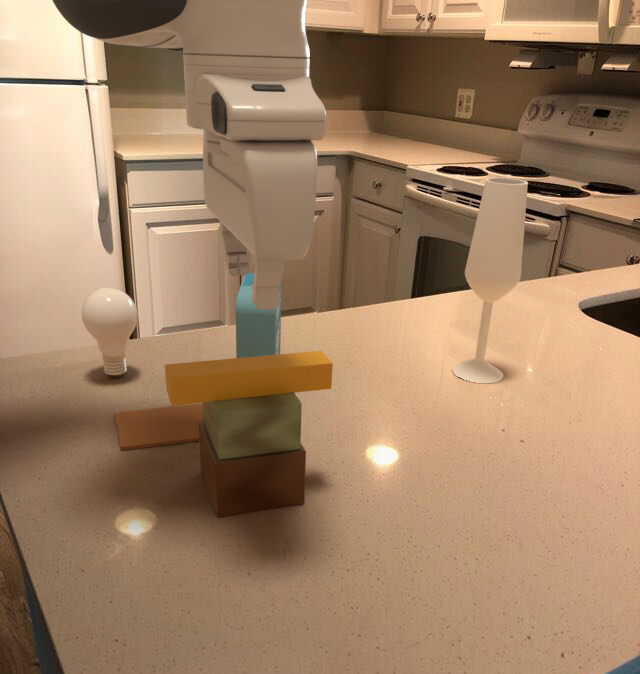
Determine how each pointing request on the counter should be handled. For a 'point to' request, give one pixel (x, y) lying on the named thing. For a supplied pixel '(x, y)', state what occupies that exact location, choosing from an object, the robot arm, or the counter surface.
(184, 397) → the bar
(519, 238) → the champagne flute
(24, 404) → the counter surface
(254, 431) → the tower
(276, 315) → the data package
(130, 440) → the cork mat
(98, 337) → the lightbulb
